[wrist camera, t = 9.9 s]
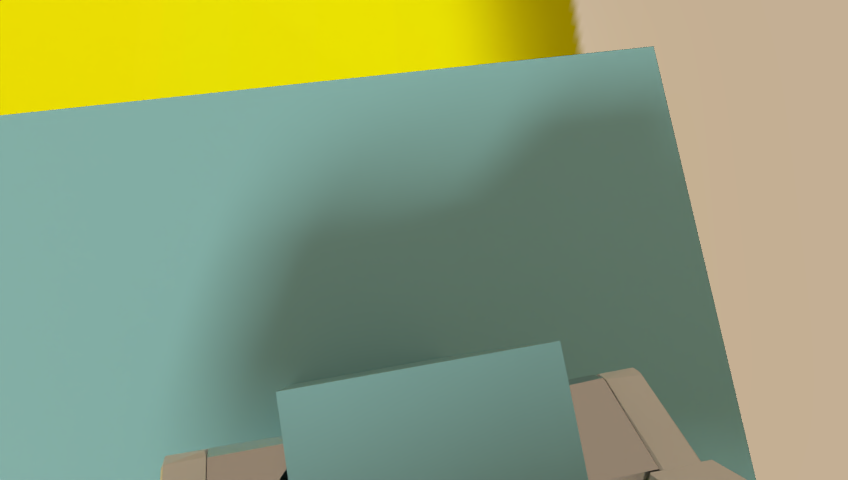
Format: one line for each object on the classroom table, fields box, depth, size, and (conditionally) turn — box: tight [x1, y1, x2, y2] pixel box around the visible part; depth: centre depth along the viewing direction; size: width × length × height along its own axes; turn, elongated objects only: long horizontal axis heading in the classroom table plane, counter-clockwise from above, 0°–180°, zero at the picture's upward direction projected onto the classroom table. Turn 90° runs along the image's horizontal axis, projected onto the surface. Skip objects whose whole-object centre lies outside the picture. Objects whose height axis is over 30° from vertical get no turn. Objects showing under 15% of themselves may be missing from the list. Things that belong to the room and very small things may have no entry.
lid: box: [0, 46, 756, 480], centre depth 12 cm, size 15×15×9 cm
